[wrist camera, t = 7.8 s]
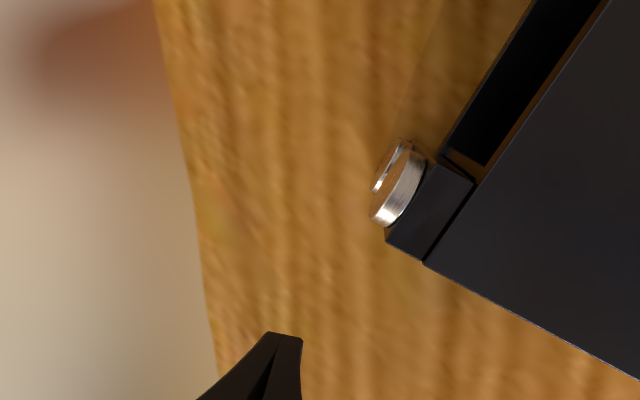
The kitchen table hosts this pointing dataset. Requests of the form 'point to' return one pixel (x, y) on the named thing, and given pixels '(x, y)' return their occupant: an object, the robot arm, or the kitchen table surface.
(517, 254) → the microwave
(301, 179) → the kitchen table surface
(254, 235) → the kitchen table surface
